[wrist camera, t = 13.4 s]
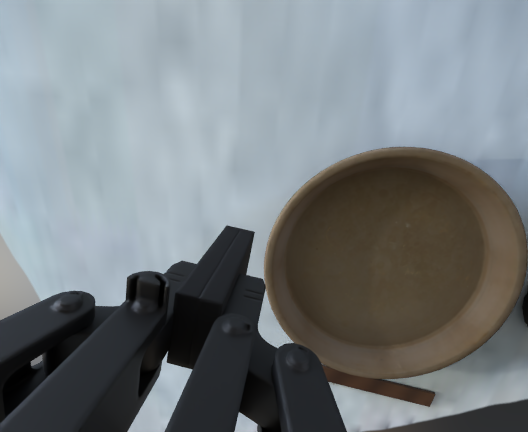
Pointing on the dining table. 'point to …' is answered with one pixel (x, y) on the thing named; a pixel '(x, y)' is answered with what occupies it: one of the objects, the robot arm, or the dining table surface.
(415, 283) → the plant saucer
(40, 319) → the robot arm
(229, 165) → the dining table surface
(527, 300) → the coffee jar
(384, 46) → the dining table surface
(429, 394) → the walnut ruler
